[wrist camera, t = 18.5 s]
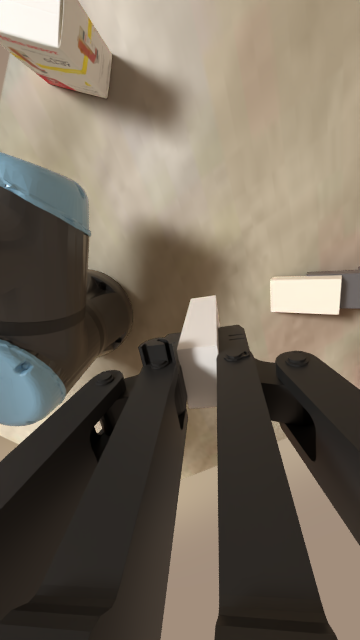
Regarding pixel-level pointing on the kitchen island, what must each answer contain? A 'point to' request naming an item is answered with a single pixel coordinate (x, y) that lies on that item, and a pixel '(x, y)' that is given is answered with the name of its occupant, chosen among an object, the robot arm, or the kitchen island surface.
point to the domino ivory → (306, 294)
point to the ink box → (57, 43)
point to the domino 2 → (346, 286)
